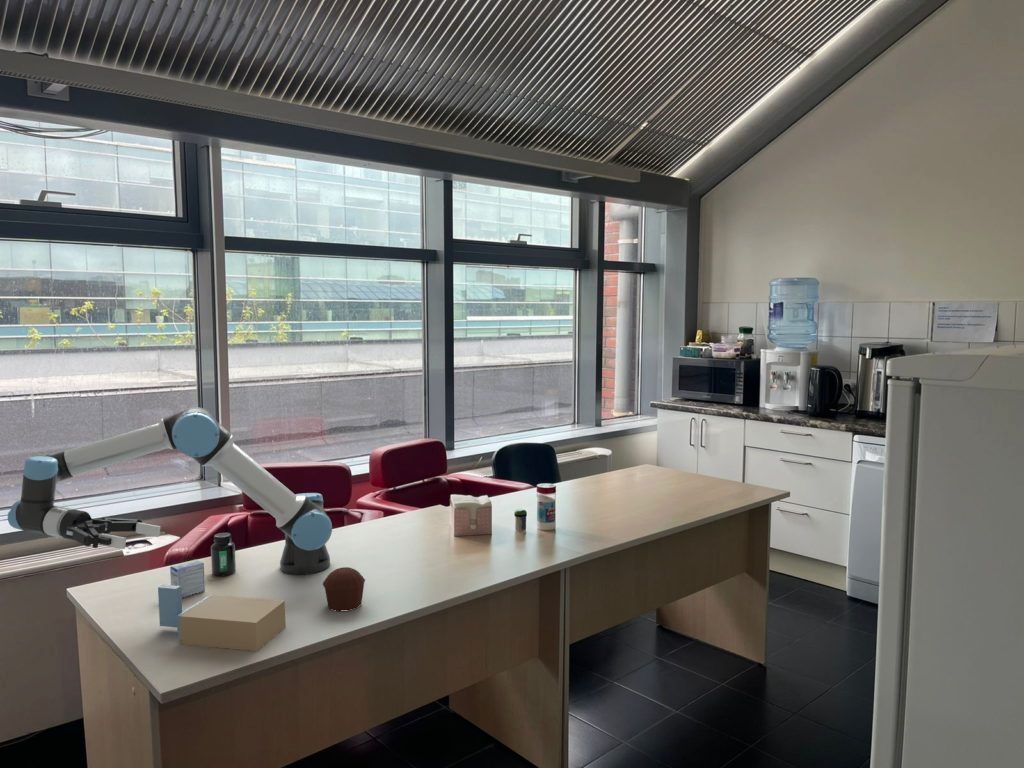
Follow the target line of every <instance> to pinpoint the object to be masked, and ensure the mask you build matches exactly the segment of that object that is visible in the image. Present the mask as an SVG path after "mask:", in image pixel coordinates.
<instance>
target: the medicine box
mask: <svg viewBox="0 0 1024 768" xmlns="http://www.w3.org/2000/svg"><path fill="white" fill-rule="evenodd" d="M169 570H170V571H169V572H170V573H169V574H170V585H174V586H181V599H183V598H182V597H184V598H187V597H189V596H188V595H190V596H192V594H194V595H196V594H195V593H197V594H200V593H203V592H205V591H206V586H205V585H206V584H205V562H202V561H200V560H198V559H192V560H189V561H185V562H182V563H181V562H180V563H178V564H174V565H172V566H171V565H170V567H169ZM202 591H203V592H202ZM199 592H200V593H199ZM186 596H187V597H186Z"/></svg>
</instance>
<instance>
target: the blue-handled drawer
mask: <svg viewBox="0 0 1024 768" xmlns="http://www.w3.org/2000/svg"><path fill="white" fill-rule="evenodd" d="M157 592H158V593H157V595H158V597H157V598H158V618H159V627H167V628H168V627H169V628H177V639H178V640H181V633H180V616H181V615H182V614H184V613H186V612H187V611H189V610H190V609H192V608H193V607H195V606H197V605H198V604H200V603H201V602H203V601H204V600H206V599H208V598H209V597H211V596H212V595H207V596H206V597H205V596H204V598H202V599H201V600H199V601H197V602H196V603H195V604H193V605H191V606H190V607H188V608H187V609H185V610H183V604H182V603H183V601H182V598H181V586H174V585H171V584H161V585H160V586H158V587H157Z"/></svg>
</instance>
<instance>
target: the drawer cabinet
mask: <svg viewBox="0 0 1024 768" xmlns="http://www.w3.org/2000/svg"><path fill="white" fill-rule="evenodd" d="M210 596H211V597H209V598H208V599H206V600H204V601H203V602H201V603H200V604H198V605H197V606H195V607H193V608H192V609H190V610H189V611H187V612H186V613H184V614H182V615H181V616H180V633H181V639H180V645H184V646H194V647H195V646H196V647H197V646H198V647H207V648H216V647H219V648H218V649H226V648H229V649H228V650H237V649H240V651H247V650H250V651H249V652H258V651H259V650H260V649H262V648H263V647H264V646H265V645H267V644H268V643H269V642H270V641H271V640H272V639H273V637H274V636H275V635H276V636H277V635H278V634H279V633H281V632H282V631H283V630H285V629H286V628H287V627H286V626H287V625H286V601H285V600H282V599H270V598H269V599H268V598H257V597H245V596H232V595H231V596H230V595H218V594H212V595H210ZM276 636H275V637H276ZM275 637H274V638H275ZM269 640H270V641H269ZM268 641H269V642H268ZM267 642H268V643H267ZM263 645H264V646H263ZM262 646H263V647H262ZM261 647H262V648H261Z"/></svg>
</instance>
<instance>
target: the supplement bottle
mask: <svg viewBox="0 0 1024 768" xmlns="http://www.w3.org/2000/svg"><path fill="white" fill-rule="evenodd" d="M213 542H214V543H213V544H212V545H211V546H210V555H211V556H210V557H211V559H210V560H211V574H212V575H213V576H215V577H227V576H231V575H233V574H235V572H236V571H237V570H236V569H237V567H236V563H237V562H236V546H235V545H236V544H235V543H234V542H233V541H232V534H231V533H230V532H218V533H216V534H214V535H213Z"/></svg>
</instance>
